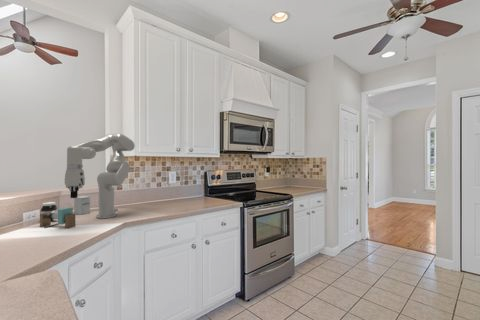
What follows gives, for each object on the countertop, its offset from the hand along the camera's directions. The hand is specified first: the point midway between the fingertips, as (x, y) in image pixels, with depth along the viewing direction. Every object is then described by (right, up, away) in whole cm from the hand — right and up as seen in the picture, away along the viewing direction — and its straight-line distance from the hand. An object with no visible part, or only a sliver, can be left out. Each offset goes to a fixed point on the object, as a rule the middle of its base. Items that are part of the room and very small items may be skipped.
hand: (74, 197), depth 140 cm
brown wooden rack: (-12, -18, +3) cm, 21 cm away
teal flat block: (-6, -15, +2) cm, 17 cm away
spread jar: (-27, -18, +16) cm, 36 cm away
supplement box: (-20, -18, +37) cm, 45 cm away
